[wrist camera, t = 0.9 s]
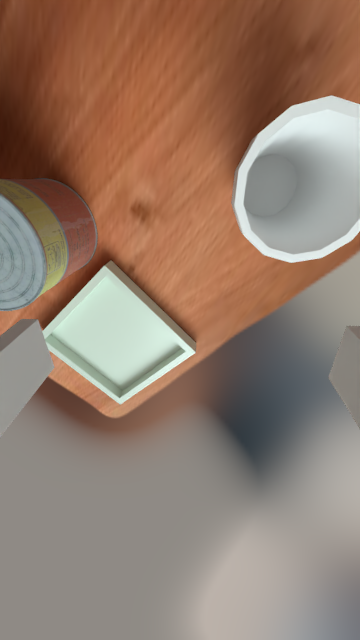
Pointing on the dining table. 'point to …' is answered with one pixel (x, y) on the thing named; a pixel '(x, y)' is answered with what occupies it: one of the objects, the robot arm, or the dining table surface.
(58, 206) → the canned food
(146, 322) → the tray
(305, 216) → the foam cup
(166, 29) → the dining table surface
